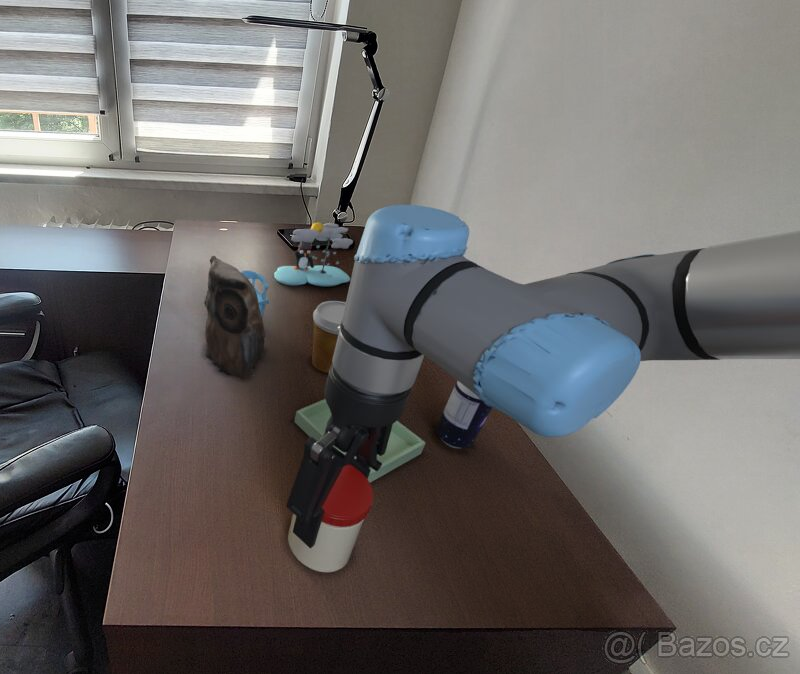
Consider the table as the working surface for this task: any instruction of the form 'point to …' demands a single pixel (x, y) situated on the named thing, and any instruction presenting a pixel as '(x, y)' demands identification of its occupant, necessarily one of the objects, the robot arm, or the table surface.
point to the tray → (397, 453)
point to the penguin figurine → (314, 273)
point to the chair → (261, 297)
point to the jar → (325, 546)
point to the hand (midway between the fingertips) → (326, 517)
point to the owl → (232, 321)
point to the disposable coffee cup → (326, 333)
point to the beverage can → (462, 418)
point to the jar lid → (348, 499)
